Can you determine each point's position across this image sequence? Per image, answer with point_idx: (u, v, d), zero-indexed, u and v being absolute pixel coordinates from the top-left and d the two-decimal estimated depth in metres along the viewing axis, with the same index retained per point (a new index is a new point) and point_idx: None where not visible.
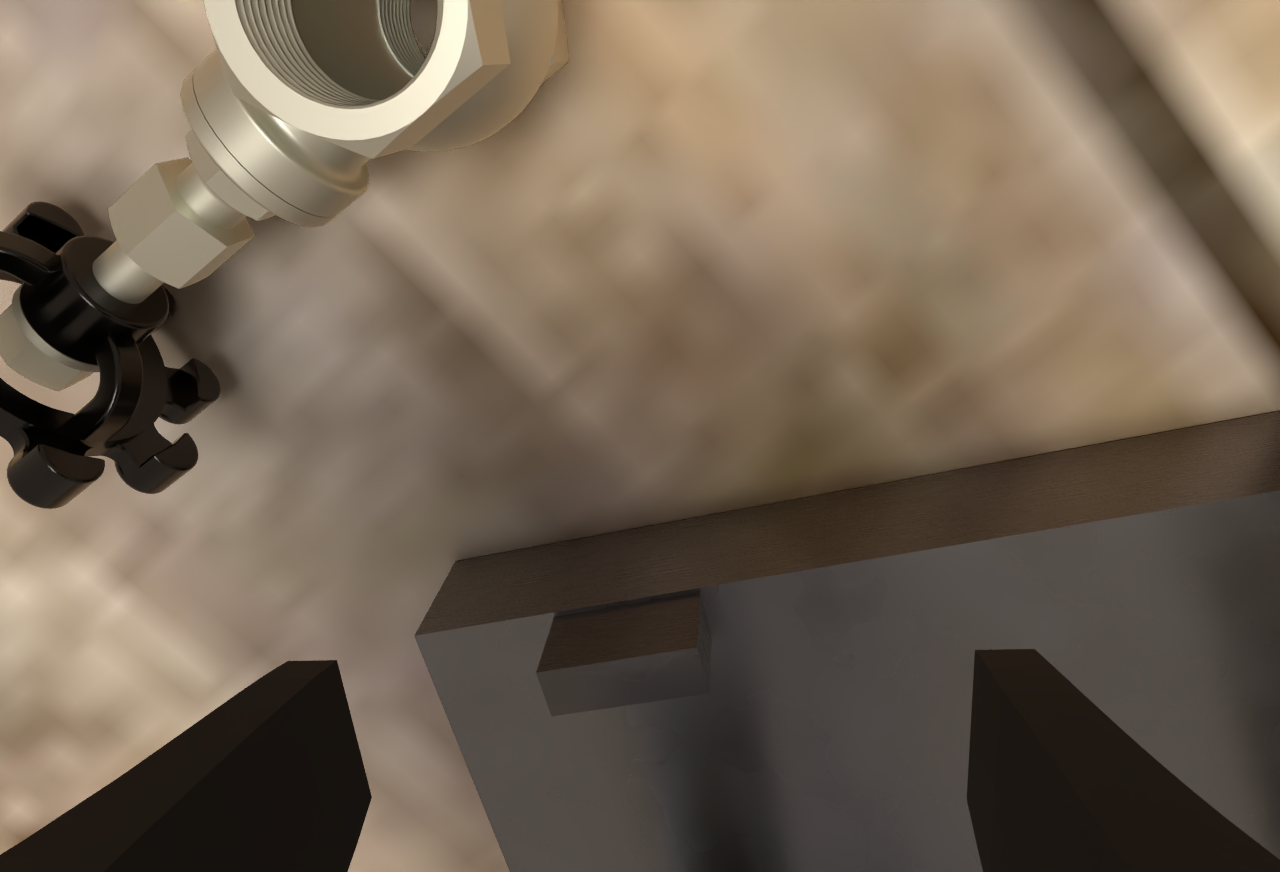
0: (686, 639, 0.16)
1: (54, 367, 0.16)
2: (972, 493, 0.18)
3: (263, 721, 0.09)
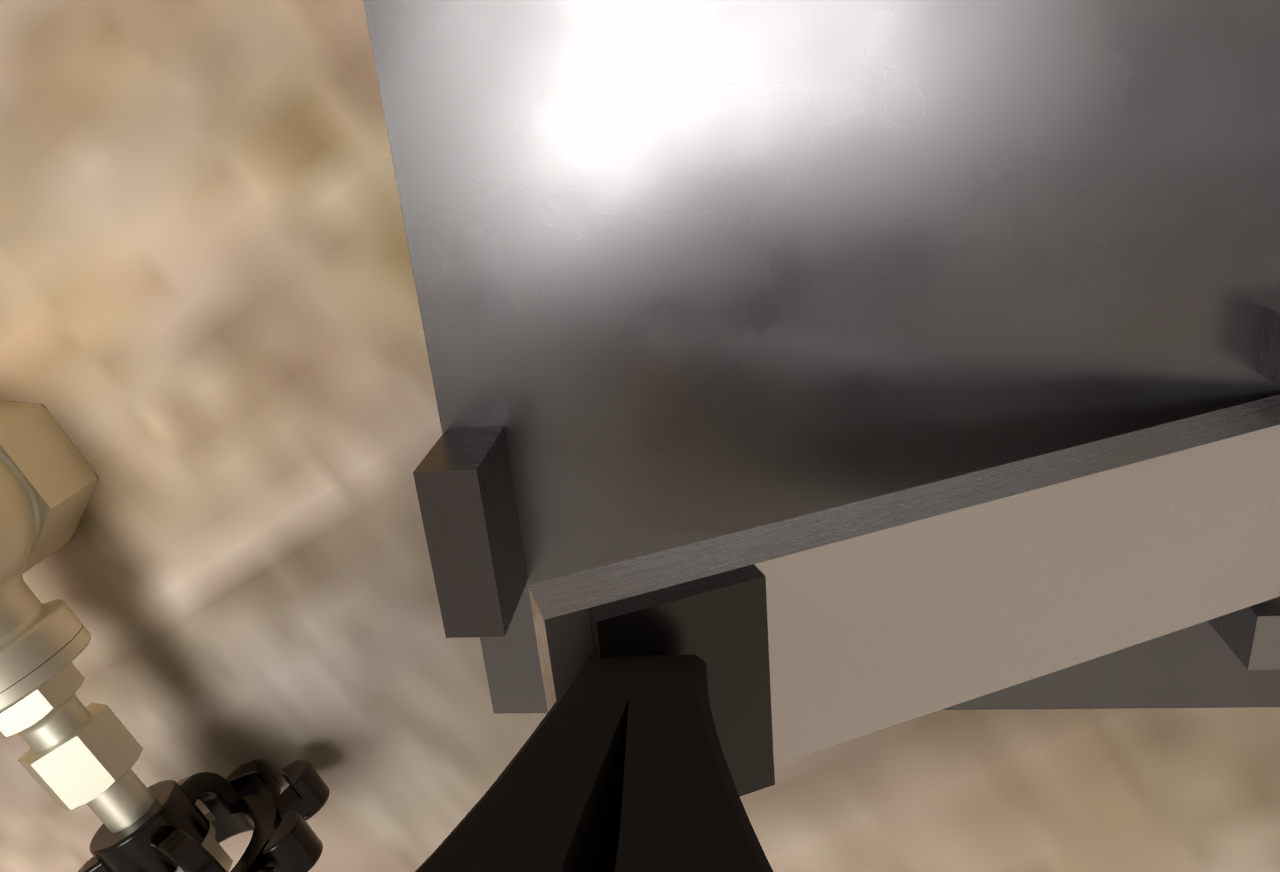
0: (421, 476, 0.14)
1: None
2: None
3: (618, 717, 0.09)
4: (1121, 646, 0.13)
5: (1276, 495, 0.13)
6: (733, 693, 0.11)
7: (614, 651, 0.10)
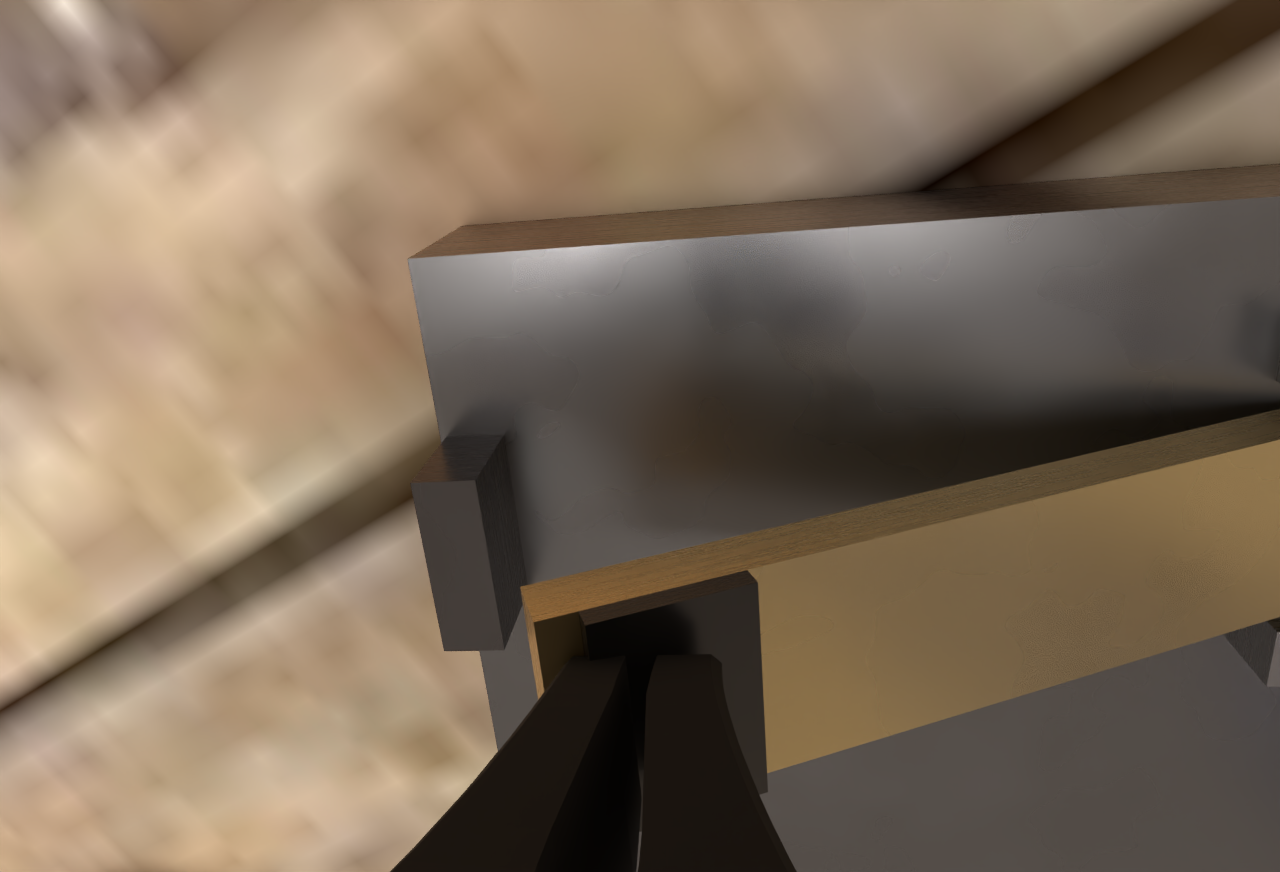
0: None
1: None
2: None
3: (598, 717, 0.09)
4: None
5: None
6: None
7: None
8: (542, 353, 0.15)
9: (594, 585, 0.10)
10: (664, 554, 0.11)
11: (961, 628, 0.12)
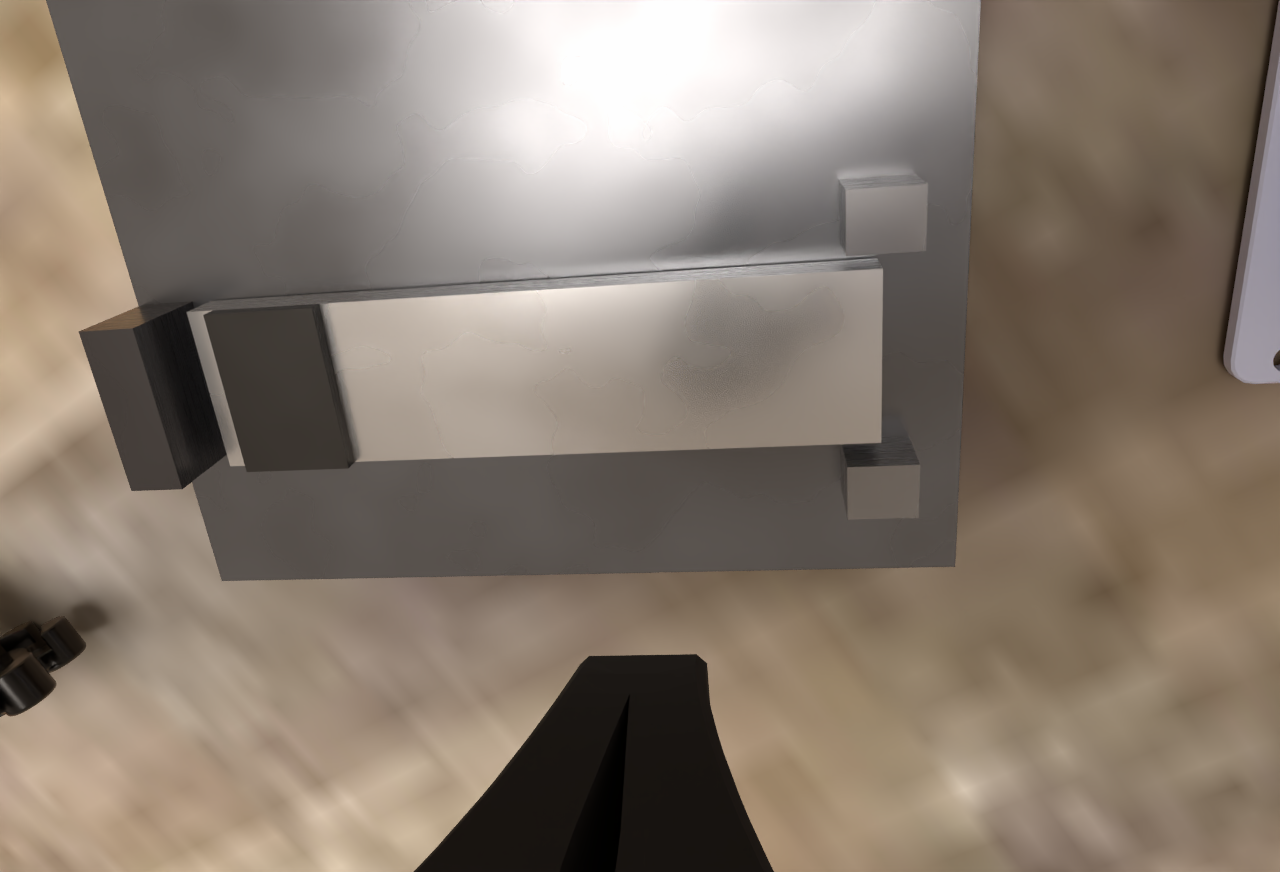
0: (94, 337, 0.16)
1: None
2: None
3: (617, 717, 0.09)
4: (661, 447, 0.16)
5: (808, 341, 0.15)
6: (304, 390, 0.16)
7: (218, 338, 0.16)
8: None
9: None
10: None
11: None
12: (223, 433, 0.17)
